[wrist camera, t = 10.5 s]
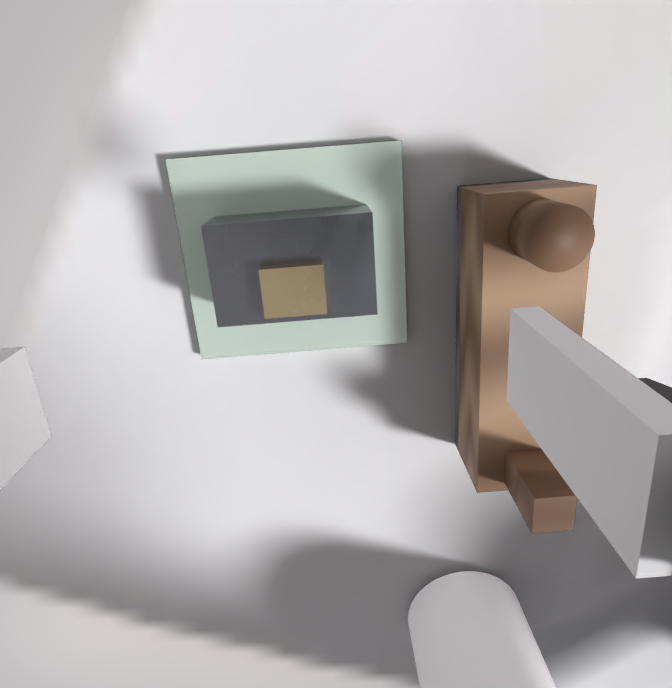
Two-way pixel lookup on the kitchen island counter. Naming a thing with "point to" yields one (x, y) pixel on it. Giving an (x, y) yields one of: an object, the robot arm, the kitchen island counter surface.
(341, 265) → the dark grey rectangular block
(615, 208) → the kitchen island counter surface
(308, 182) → the mat
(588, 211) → the hand plane
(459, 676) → the beverage can
